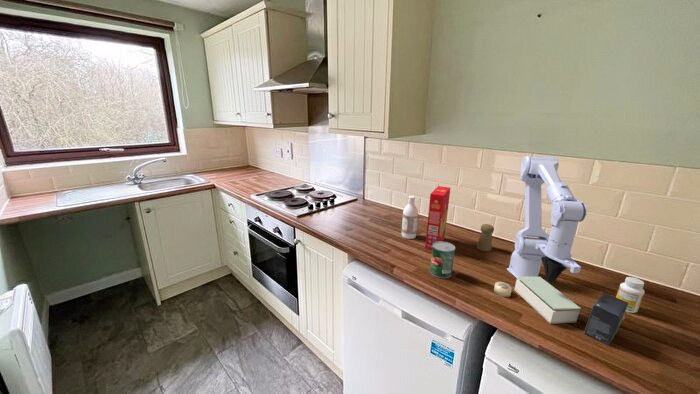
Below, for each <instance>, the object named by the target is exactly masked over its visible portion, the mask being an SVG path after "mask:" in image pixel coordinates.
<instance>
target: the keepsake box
mask: <svg viewBox="0 0 700 394" xmlns="http://www.w3.org/2000/svg"><path fill="white" fill-rule="evenodd" d="M513 290H514V291H515V292H516V293H517V294H518V295H519V296H520V297H521V298H523V300H524V301H525V302H527V304H529V305H530V306H531V307H532V308H533V309H534V310H535V311H536V312H537V313H538V314H539V315H540V316H541V317H542V318H543V319H544V320H546V321H547V322H548V323H549V324H550V325H551V324H554V325H555V324H569V323H571V324H572V323H577V320H578V317H579V314H580V310H554V309H553V308H552V307H551V306H549V305H548V304H547V303H546V302H545V301H544V300H543V299H541V298H540V297H539V296H538V295H537V294H536V293H535V292H533V291H532V290H531V289H530V288H529V287H528V286H527V285H525V284H524V283H523V282H522V281H521V280H520V279H517V278H516V281H515V285H514V289H513Z"/></svg>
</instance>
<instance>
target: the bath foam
mask: <svg viewBox="0 0 700 394" xmlns="http://www.w3.org/2000/svg"><path fill="white" fill-rule="evenodd" d="M407 200H408V202H407V205H405V207H404V209H403V211H402V221H401V222H402V224H401V237H402V238H404V239H407V240H413V239H415V238H416V237H417V232H418V221H419V219H418V218H419V210H418V208H417V206H416V204H415V203H416V196H415V195H409V196H408V199H407Z"/></svg>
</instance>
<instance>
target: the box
mask: <svg viewBox="0 0 700 394" xmlns="http://www.w3.org/2000/svg"><path fill="white" fill-rule="evenodd" d="M627 306H628V302H626V301H623V300H621V299H618V298H616V296H612V295H610V294H608V293H605V292H603V293H602V294H601V296H600V297H599V298H598V299H596V301H595V303H594V304H593V305H592V307H591V310H590V314H589V317H588V320H587V322H586V326H585V328H584V331H583V334H585V335H587V336H589V337H591V338H593V339H595V340H598V341H599V342H600V343H603V344H605V345H607V346H610V344H611V343H612V341H613V339H614V338H615V336H616V334H617V333H618V332H619V329H620V327H621V324H622V321H623V319H624V317H625V313H626V309H627Z"/></svg>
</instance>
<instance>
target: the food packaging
mask: <svg viewBox="0 0 700 394" xmlns="http://www.w3.org/2000/svg"><path fill="white" fill-rule="evenodd" d="M450 194H451V187H447V186H440V185H438V186H437V187H436V188H435V189H434V190H433V191H432V192H431V193H430V196H429V205H428V216H427V225H426V235H425V243H424V244H425V246H424V249H426V250H431V251H432V248H433V243H435V242H438V241H443V242H444V240H445V237H446V229H447V228H446V227H447V220H448V211H449V202H450Z"/></svg>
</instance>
